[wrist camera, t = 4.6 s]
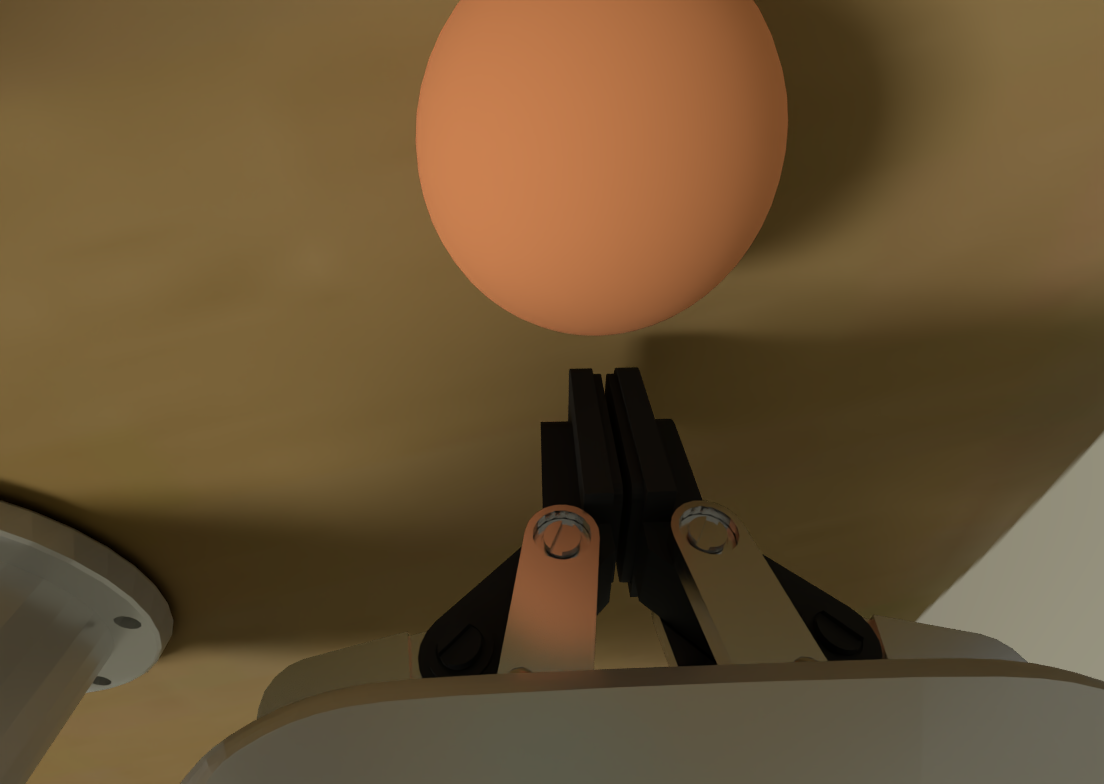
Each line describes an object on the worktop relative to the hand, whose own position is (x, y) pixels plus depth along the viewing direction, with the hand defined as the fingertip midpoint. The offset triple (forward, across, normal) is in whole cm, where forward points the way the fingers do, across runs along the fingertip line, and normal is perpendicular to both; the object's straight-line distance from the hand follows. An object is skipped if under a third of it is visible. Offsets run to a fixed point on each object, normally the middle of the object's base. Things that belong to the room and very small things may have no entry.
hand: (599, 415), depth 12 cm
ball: (-1, 0, -6) cm, 6 cm away
